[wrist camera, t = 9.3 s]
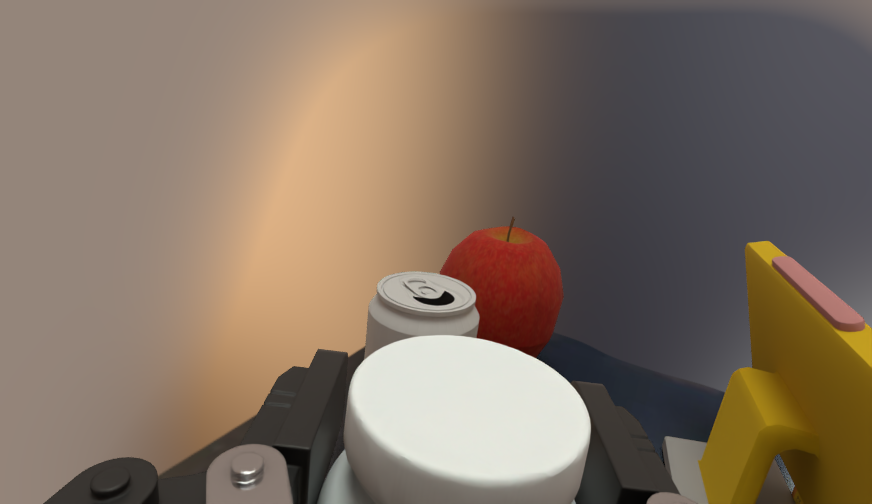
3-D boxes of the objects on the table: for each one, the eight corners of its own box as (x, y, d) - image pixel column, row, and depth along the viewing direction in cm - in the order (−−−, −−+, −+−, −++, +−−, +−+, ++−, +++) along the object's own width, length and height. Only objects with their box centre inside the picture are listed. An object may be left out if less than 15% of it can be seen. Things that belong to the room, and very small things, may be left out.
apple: (454, 330, 50) (474, 193, 45) (553, 361, 46) (586, 217, 42) (406, 379, 40) (426, 215, 36) (526, 424, 37) (564, 247, 32)
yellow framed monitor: (902, 742, 20) (1118, 422, 15) (695, 660, 22) (825, 355, 17) (762, 440, 39) (840, 248, 33) (655, 410, 41) (713, 225, 35)
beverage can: (387, 514, 28) (409, 322, 24) (339, 443, 33) (351, 274, 29) (475, 475, 31) (506, 302, 28) (420, 416, 36) (440, 262, 32)
